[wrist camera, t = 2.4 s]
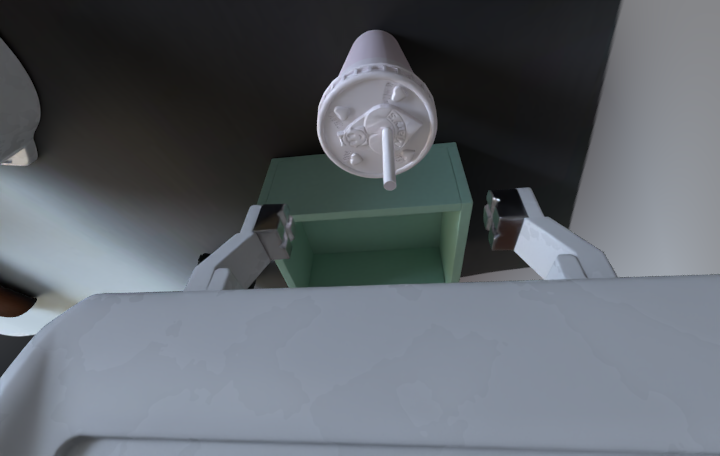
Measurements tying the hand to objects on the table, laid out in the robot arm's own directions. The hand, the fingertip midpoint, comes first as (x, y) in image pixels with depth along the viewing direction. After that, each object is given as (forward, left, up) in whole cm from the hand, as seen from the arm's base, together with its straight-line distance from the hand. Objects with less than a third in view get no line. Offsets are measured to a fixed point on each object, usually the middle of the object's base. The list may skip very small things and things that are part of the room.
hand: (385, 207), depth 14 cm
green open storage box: (-2, -15, -15) cm, 21 cm away
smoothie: (0, 0, -15) cm, 15 cm away
